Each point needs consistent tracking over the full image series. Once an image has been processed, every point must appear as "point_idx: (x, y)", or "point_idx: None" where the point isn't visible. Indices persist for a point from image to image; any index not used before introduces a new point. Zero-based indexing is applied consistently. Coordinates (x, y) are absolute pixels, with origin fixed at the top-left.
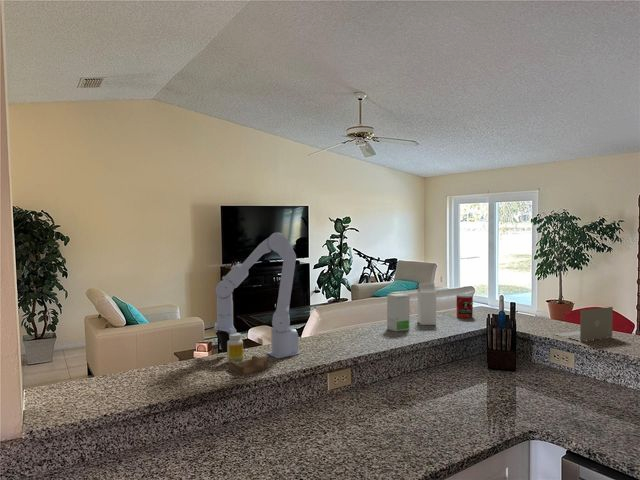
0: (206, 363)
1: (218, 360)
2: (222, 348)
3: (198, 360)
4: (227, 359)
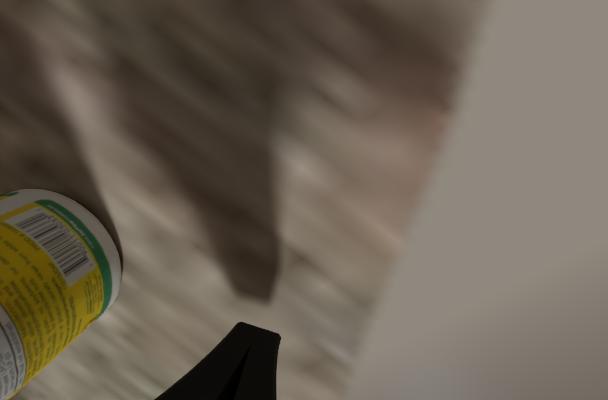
0: (197, 28)
1: (198, 190)
2: (221, 348)
3: (385, 35)
4: (46, 204)
